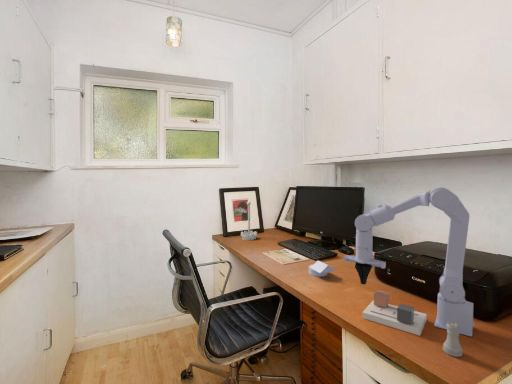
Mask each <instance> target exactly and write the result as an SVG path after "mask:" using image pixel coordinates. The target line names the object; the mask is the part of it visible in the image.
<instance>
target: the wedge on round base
mask: <svg viewBox="0 0 512 384" xmlns="http://www.w3.org/2000/svg"><path fill="white" fill-rule="evenodd" d="M330 272H331V273H332V272H336V269H334V268H333V267H332V266H330V265H329V264H326V263H324V262H322V261H320V260H316V262H315V263H313V264H310V265H308V274H309V275H311V276H313V277H326V276H327V275H328V273H330Z"/></svg>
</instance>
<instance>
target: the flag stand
mask: <svg viewBox="0 0 512 384" xmlns="http://www.w3.org/2000/svg"><path fill="white" fill-rule="evenodd" d="M246 205H247V230H244V231H241V232H240V236H241V239H242V240H244V241H255V240H256V239H257V236H258V231H253V230H251V223H250V222H251V211H250V210H251V202H250V201H247V202H246ZM254 239H255V240H254Z"/></svg>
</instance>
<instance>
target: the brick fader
mask: <svg viewBox="0 0 512 384" xmlns="http://www.w3.org/2000/svg"><path fill="white" fill-rule="evenodd" d="M373 300H374V305H377V306H381V307H385V308H386V307H387V306H388V304H390V292H388V291H383V290H379V289H376V291H374V293H373Z"/></svg>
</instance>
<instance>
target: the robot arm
mask: <svg viewBox="0 0 512 384" xmlns="http://www.w3.org/2000/svg"><path fill="white" fill-rule="evenodd" d="M430 204H431V205H432V206H433V207H434V208H437V209H438V210H440V211H441V212H444V214H445V215H446V216H448V218H449V219H450V221H449V222H450V223H449V231H448V238H447V239H448V240H447V247H446V255H445V264H444V267H443V273H442V275H441V276H440V277H439V279H438V283H439V292H438V293H437V301H436V302H437V303H436V305H437V309H436V311H437V314H436V317H435V321H434V324H433V326H434V327H436V328H439V329H442V330H446V331H447V330H448V328H447V327H446V324H447V322H448V321H450V323H452V321H453V322H454V324H455V323H458V324H459V327H460V330H459V331H458V333H459V335H464V336H468V337H473V329H474V328H475V321H474V303H473V302H471V301H467V300H466V298H465V297H466V291H465V288H464V285H463V281H464V280H463V279H464V278H463V276H464V274H463V272H464V262H465V255H466V248H467V247H466V246H467V239H468V231H469V223H470V212H468V209H467V208H466V207H465V205H464V204H463V203H462V201H461V199H460V197H459V196H458V195H457V194H455V193H453V191H451V190H450V189H449V188H445V187H436V188H434V189H432V190H427V191H424V192H420V193H418V194H415V195H412V196H411V197H409V198H407V199H404V200H402V201H400V202H398V203H396V204H393V205H388V204H384V205H382V204H379V205H378V206H377V208H375V209H372V210H370V211H369V210H367V211H365V213H363V214H359V215H358V216H357V217H356V218H355V220H354V226H355V228H356V230H355V232H356V233H355V255H348V254H345V255H343V262H350V263H355V264H354V269H355V270H356V272H357V274H358V278H359V281H360V285H366V284H367V280H368V278H369V275H370V272H371V270H372V268H373V267H377V268H380V269H386V267H387V266H386V265H387V264H386V263H387V262H386V261H383V260H378V259H376V258H373V244H374V243H373V242H374V241H373V240H374V239H373V237H374V236H373V227H379V226H381V225H383V224H385V223H388V222H391V221H393V220H394V219H395V216H396V215H397V214H400V213H402V212H405V211H408V210H410V209H413V208H416V207H418V206H421V207H430Z"/></svg>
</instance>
